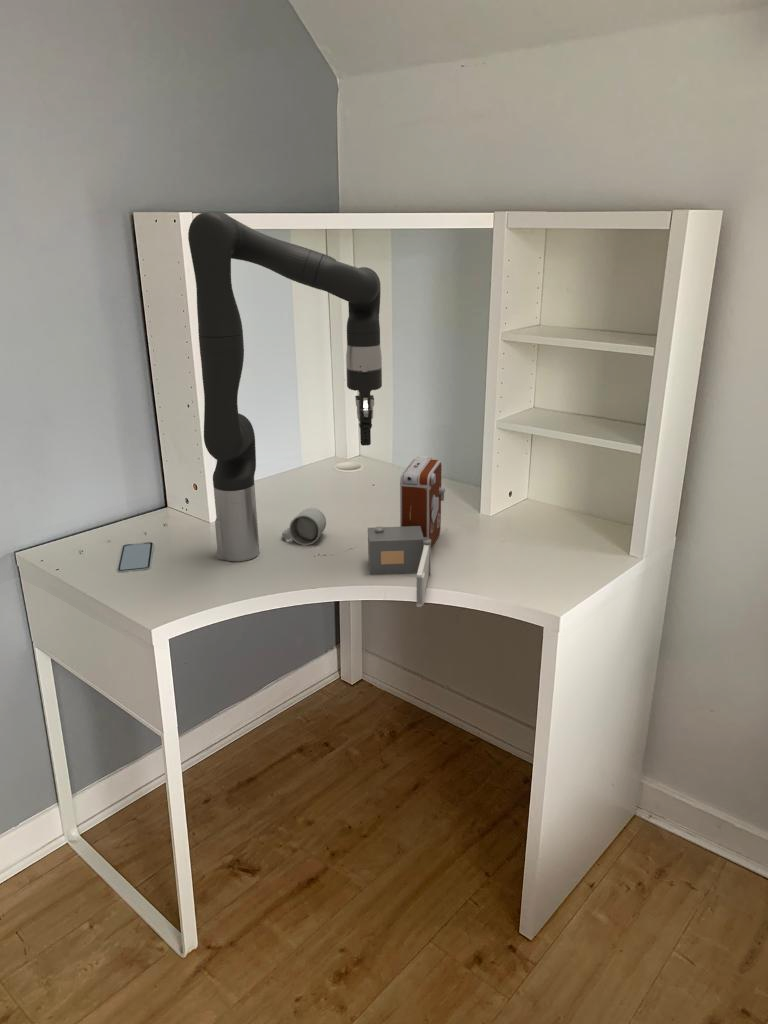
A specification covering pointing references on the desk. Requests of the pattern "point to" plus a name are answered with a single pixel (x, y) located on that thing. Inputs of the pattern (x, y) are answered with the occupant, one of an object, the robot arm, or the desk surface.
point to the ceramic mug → (306, 527)
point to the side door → (423, 574)
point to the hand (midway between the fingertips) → (365, 444)
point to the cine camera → (422, 496)
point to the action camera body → (395, 549)
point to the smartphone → (136, 557)
